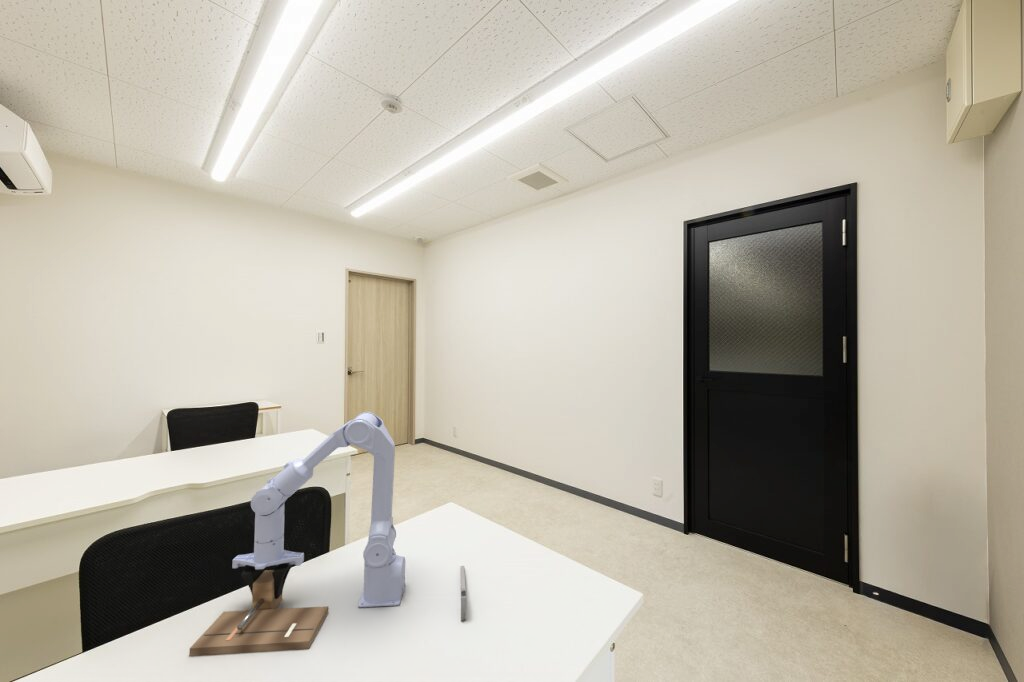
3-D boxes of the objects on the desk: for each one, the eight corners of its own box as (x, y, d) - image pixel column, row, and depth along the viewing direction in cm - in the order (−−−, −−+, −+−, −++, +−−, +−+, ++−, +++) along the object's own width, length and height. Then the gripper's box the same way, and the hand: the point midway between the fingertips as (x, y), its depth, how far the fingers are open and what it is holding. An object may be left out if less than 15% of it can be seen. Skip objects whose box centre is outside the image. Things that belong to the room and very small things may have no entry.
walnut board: (328, 612, 85) (328, 605, 85) (309, 648, 75) (309, 640, 75) (223, 618, 82) (223, 611, 82) (189, 656, 72) (189, 647, 72)
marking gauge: (282, 599, 89) (283, 569, 89) (249, 642, 76) (250, 608, 76) (264, 600, 88) (265, 570, 88) (228, 644, 75) (229, 609, 75)
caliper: (465, 622, 83) (466, 594, 83) (460, 623, 83) (461, 594, 83) (464, 568, 103) (464, 545, 103) (460, 568, 103) (460, 545, 103)
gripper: (224, 547, 81) (222, 610, 81) (294, 545, 83) (292, 606, 83) (243, 531, 88) (242, 589, 88) (308, 529, 90) (306, 586, 90)
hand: (267, 596), depth 86 cm, fingers closed on marking gauge, 4 cm apart
